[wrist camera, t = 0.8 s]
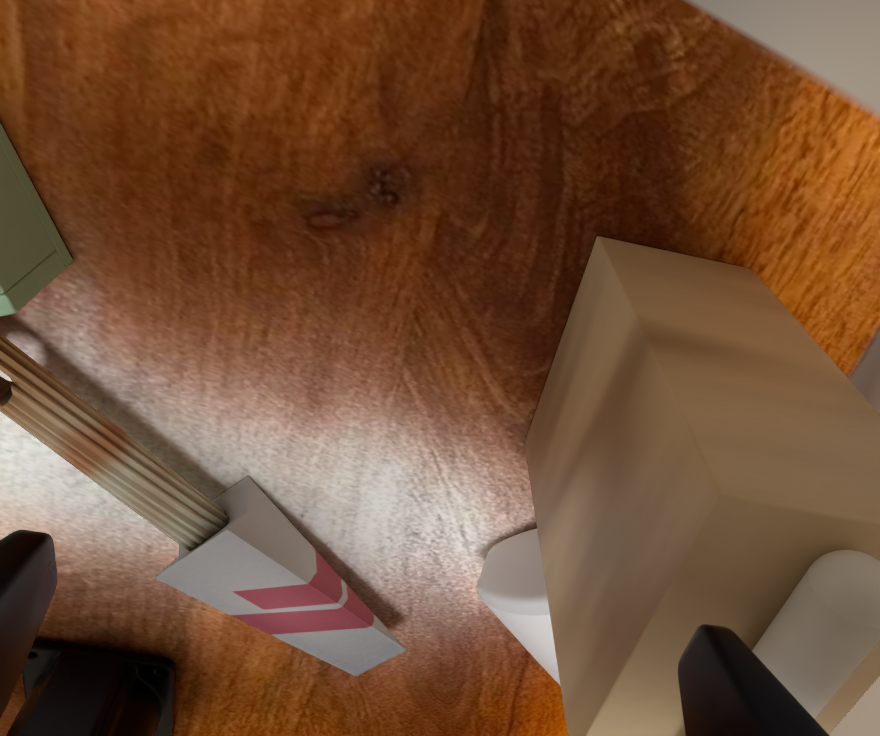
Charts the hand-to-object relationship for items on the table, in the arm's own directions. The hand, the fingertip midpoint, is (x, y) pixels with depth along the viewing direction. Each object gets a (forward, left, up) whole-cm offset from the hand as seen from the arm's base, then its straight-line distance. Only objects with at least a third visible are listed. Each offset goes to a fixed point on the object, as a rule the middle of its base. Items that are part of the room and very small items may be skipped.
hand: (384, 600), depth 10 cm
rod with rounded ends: (-3, -8, -2) cm, 8 cm away
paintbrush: (-12, +6, -11) cm, 17 cm away
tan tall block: (-3, -8, -14) cm, 16 cm away
